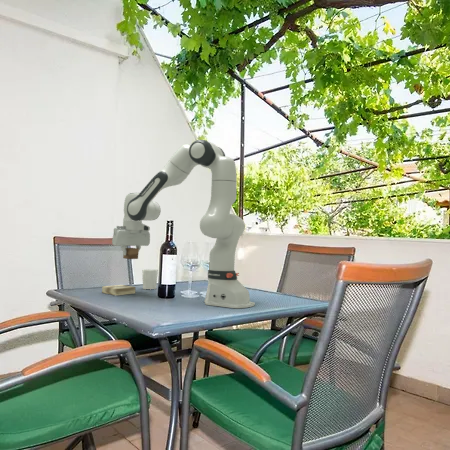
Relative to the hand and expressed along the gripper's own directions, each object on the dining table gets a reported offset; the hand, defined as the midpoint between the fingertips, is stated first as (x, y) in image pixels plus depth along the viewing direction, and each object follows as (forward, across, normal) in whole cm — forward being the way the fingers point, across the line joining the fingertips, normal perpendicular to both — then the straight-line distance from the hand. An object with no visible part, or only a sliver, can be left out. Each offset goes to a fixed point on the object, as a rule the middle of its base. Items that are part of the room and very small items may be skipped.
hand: (130, 255), depth 204 cm
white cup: (+18, +17, +4) cm, 25 cm away
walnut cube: (+2, 0, 0) cm, 2 cm away
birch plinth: (+18, -4, +2) cm, 19 cm away
